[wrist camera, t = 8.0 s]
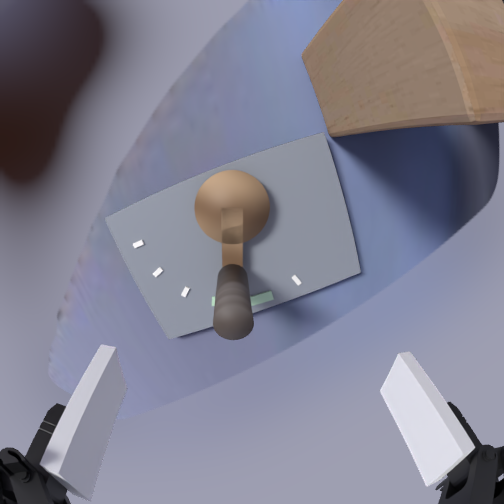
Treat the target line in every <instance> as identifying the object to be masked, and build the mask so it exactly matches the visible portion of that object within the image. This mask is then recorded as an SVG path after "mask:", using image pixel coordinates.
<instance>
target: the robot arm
mask: <svg viewBox="0 0 504 504" xmlns="http://www.w3.org/2000/svg"><path fill="white" fill-rule="evenodd" d="M502 1H503V3H504V0H502ZM126 391H127V385H126V382H125V379H124V375H123V372H122V368H121V365H120V361H119V357H118V353H117V349H116V347H111V346H106V345H101V346H100V347H99V349H98V351H97V352H96V354H95V356H94V358H93V359H92V361H91V363H90V364H89V366H88V368H87V370H86V371H85V373H84V375H83V377H82V379H81V380H80V382H79V384H78V386H77V388H76V389H75V391H74V393H73V395H72V397H71V399H70V401H69V403H68V405H67V407H66V406H63V405H60V404H56V405H54V406H53V407H52V408H51V409H50V410H49V411H48V412H47V414H46V416H45V418H44V421H43V422H42V423H41V425H40V429H39V430H38V431H37V433H36V435H35V438H34V439H33V441H32V443H31V445H30V448H29V450H28V452H27V454H26V456H25V457H24V456H23V455H22V454H21V453H20V452H19V451H18V450H16V449H14V448H5V449H2V450H1V451H0V504H71V503H70V501H69V499H68V497H67V496H66V492H67V490H68V491H70V492H71V493H72V494H74V495H76V496H78V497H81V498H83V499H86V500H88V501H91V498H92V494H93V491H94V487H95V484H96V480H97V477H98V473H99V470H100V467H101V463H102V460H103V457H104V454H105V451H106V448H107V445H108V442H109V439H110V436H111V433H112V430H113V427H114V424H115V421H116V418H117V416H118V413H119V410H120V407H121V405H122V402H123V399H124V397H125V394H126ZM380 392H381V394H382V396H383V398H384V400H385V402H386V404H387V406H388V408H389V410H390V412H391V414H392V415H393V418H394V419H395V421H396V424H397V426H398V428H399V429H400V431H401V433H402V436H403V438H404V440H405V442H406V444H407V446H408V447H409V450H410V452H411V454H412V456H413V458H414V460H415V463H416V465H417V467H418V469H419V471H420V473H421V476H422V478H423V480H424V482H425V484H426V486H429V485H431V484H433V483H435V482H437V481H439V480H440V479H441V478H443V477H444V476H445V475H446V474H447V476H448V477H447V478H446V479H445V480H444V481H443V482H441V483H440V484H439V485H438V486H437V488H436V490H438V489H439V488H440V487H442V486H443V485H444V486H443V487H442V488H441V489H440V491H442V494H441V497H440V500H439V503H438V504H504V478H503V479H502V480H501V481H498V477H499V476H501V475H502V474H503V473H504V446H502V447H499V448H494V447H493V446H491V445H482V444H481V443H480V441H479V440H478V439H477V437H476V435H475V433H474V432H473V430H472V429H471V427H470V426H469V424H468V423H466V420H465V418H464V417H462V414H461V412H460V411H459V409H458V408H457V407H456V406H454V405H453V404H452V403H451V402H448V403H446V401H445V400H444V398H443V397H442V395H441V394H440V393H439V391H438V390H437V389H436V387H435V385H434V384H433V382H432V381H431V380H430V378H429V377H428V376H427V374H426V373H425V372H424V370H423V369H422V367H421V366H420V365H419V363H418V362H417V361H416V359H415V358H414V356H413V355H412V354H411V352H404V353H398V355H397V358H396V360H395V362H394V364H393V366H392V368H391V370H390V372H389V374H388V376H387V378H386V380H385V382H384V384H383V386H382V388H381V390H380Z"/></svg>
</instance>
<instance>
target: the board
mask: <svg viewBox="0 0 504 504" xmlns="http://www.w3.org/2000/svg"><path fill="white" fill-rule="evenodd" d="M226 170H239V171H243V172H246V173H248V174H250V175H252V176H253V177H255V178H256V179H257V180H258V181H259V182H260V183H261V184H262V185H263V187H264V188H265V190H266V192H267V194H268V197H269V202H270V212H269V217H268V220H267V222H266V224H265V226H264V228H263V229H262V230H261V232H260V233H259V234H258V235H256V236H255V237H254V238H252V239H251V240H249V241H246V242H244V243H243V268H244V269H245V271H246V272H247V276H248V283H249V291H250V298H251V306H252V313H255V312H258V311H261V310H264V309H266V308H269V307H272V306H275V305H278V304H281V303H283V302H286V301H289V300H292V299H294V298H297V297H300V296H302V295H305V294H308V293H310V292H313V291H316V290H318V289H321V288H323V287H326V286H329V285H331V284H334V283H336V282H339V281H341V280H344V279H346V278H349V277H351V276H354V275H356V274H358V273H361V271H360V265H359V260H358V255H357V251H356V246H355V241H354V237H353V233H352V228H351V224H350V220H349V216H348V212H347V208H346V204H345V200H344V197H343V193H342V189H341V186H340V182H339V179H338V175H337V172H336V168H335V165H334V162H333V159H332V155H331V152H330V149H329V146H328V143H327V140H326V137H325V134H324V132H323V133H319V134H315V135H312V136H308V137H305V138H302V139H298V140H295V141H292V142H288V143H285V144H282V145H279V146H276V147H273V148H270V149H267V150H264V151H261V152H258V153H255V154H252V155H249V156H246V157H244V158H241V159H238V160H235V161H233V162H230V163H227V164H225V165H222V166H219V167H217V168H214V169H212V170H209V171H207V172H204V173H202V174H199V175H197V176H194V177H192V178H190V179H187V180H185V181H182V182H180V183H178V184H175V185H173V186H171V187H169V188H166V189H164V190H162V191H160V192H157V193H155V194H153V195H151V196H149V197H147V198H144V199H142V200H140V201H138V202H136V203H134V204H132V205H130V206H128V207H126V208H124V209H122V210H120V211H118V212H116V213H114V214H112V215H110V216H108V217H106V218H105V220H106V223H107V225H108V227H109V229H110V232H111V234H112V236H113V238H114V240H115V242H116V245H117V247H118V249H119V251H120V253H121V255H122V257H123V259H124V261H125V263H126V265H127V267H128V269H129V271H130V273H131V275H132V277H133V278H134V280H135V282H136V284H137V286H138V288H139V290H140V291H141V293H142V295H143V297H144V299H145V300H146V302H147V304H148V306H149V307H150V309H151V311H152V313H153V314H154V316H155V318H156V319H157V321H158V323H159V324H160V326H161V328H162V329H163V331H164V333H165V334H166V336H167V337H168V339H172V338H176V337H179V336H182V335H186V334H189V333H193V332H196V331H199V330H202V329H206V328H209V327H212V326H213V316H214V306H215V296H216V287H217V278H218V273H219V271H220V270H221V268H222V243H220V242H217V241H215V240H213V239H212V238H210V237H209V236H208V235H206V234H205V233H204V232H203V230H202V229H201V228H200V226H199V224H198V222H197V220H196V216H195V210H194V204H195V199H196V195H197V193H198V191H199V189H200V187H201V186H202V185H203V183H204V182H205V181H206V180H207V179H209V178H210V177H211V176H213V175H215V174H217V173H219V172H222V171H226Z"/></svg>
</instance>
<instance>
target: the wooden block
mask: <svg viewBox="0 0 504 504" xmlns="http://www.w3.org/2000/svg"><path fill="white" fill-rule="evenodd" d="M302 59H303V61H304V64H305V66H306V69H307V72H308V74H309V77H310V79H311V82H312V85H313V88H314V90H315V93H316V96H317V99H318V102H319V105H320V108H321V111H322V114H323V117H324V120H325V123H326V126H327V129H328V133H329V135H330V136H331V137H340V136H347V135H353V134H360V133H367V132H375V131H383V130H392V129H402V128H413V127H426V126H444V125H478V124H488V123H499V122H504V3H503V1H502V0H343V1H342V2H341V3H340V4H339V6H338V7H337V8H336V9H335V11H334V12H333V13H332V14H331V16H330V17H329V18H328V20H327V21H326V22H325V23H324V25H323V26H322V27H321V29H320V30H319V31H318V33H317V34H316V35H315V37H314V38H313V39H312V41H311V42H310V43H309V45H308V46H307V47H306V49H305V50H304V52H303V53H302Z"/></svg>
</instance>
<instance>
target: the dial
mask: <svg viewBox="0 0 504 504" xmlns="http://www.w3.org/2000/svg"><path fill="white" fill-rule="evenodd" d="M194 210H195V216H196V220H197V222H198V224H199V226H200V228H201V229H202V230H203V232H204V233H205V234H206V235H208V236H209V237H210V238H212V239H213V240H215V241H217V242H220V243H222V268H221V270H220V271H219V273H218V278H217V287H216V296H215V306H214V316H213V327H214V330H215V331H216V333H217V334H218V335H219V336H221V337H223V338H225V339H229V340H238V339H242V338H244V337H246V336H247V335H248V334H249V333H250V332H251V331H252V329H253V326H254V321H253V313H252V306H251V298H250V291H249V283H248V276H247V272H246V271H245V269H244V268H243V243H244V242H246V241H249V240H251V239H252V238H254V237H255V236H256V235H258V234H259V233H260V232H261V230H262V229H263V228H264V226H265V224H266V222H267V220H268V217H269V212H270V202H269V197H268V194H267V192H266V190H265V188H264V187H263V185H262V184H261V183H260V182H259V181H258V180H257V179H256V178H255V177H253V176H252V175H250V174H248V173H246V172H243V171H239V170H226V171H222V172H219V173H217V174H215V175H213V176H211V177H210V178H209V179H207V180H206V181H205V182H204V183H203V185H202V186H201V187H200V189H199V191H198V193H197V195H196V199H195V204H194Z"/></svg>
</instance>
